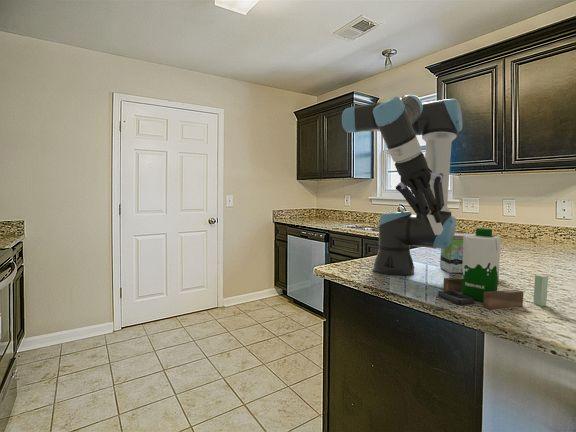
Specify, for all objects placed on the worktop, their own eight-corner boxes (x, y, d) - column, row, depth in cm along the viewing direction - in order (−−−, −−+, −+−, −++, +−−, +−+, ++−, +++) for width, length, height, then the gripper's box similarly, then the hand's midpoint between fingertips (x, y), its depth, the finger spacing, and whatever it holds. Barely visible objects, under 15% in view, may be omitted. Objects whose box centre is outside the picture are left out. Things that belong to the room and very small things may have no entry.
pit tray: (438, 296, 96) (438, 291, 96) (452, 295, 98) (452, 290, 97) (458, 305, 89) (459, 299, 88) (474, 303, 90) (474, 298, 90)
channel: (443, 290, 102) (443, 278, 102) (472, 288, 105) (473, 276, 105) (489, 309, 86) (490, 294, 85) (522, 306, 88) (523, 291, 88)
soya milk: (500, 298, 95) (503, 229, 94) (491, 305, 89) (495, 231, 88) (467, 291, 101) (470, 227, 100) (457, 297, 95) (459, 229, 94)
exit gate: (482, 286, 107) (483, 262, 107) (487, 286, 108) (488, 262, 107) (540, 305, 89) (542, 276, 88) (546, 305, 89) (548, 276, 89)
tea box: (449, 273, 125) (451, 235, 124) (439, 267, 135) (440, 232, 134) (490, 274, 124) (492, 235, 123) (477, 268, 134) (479, 232, 133)
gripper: (380, 168, 89) (412, 241, 95) (426, 156, 79) (459, 237, 85) (392, 157, 93) (422, 227, 99) (437, 144, 84) (467, 222, 89)
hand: (439, 232), depth 92 cm, fingers closed
